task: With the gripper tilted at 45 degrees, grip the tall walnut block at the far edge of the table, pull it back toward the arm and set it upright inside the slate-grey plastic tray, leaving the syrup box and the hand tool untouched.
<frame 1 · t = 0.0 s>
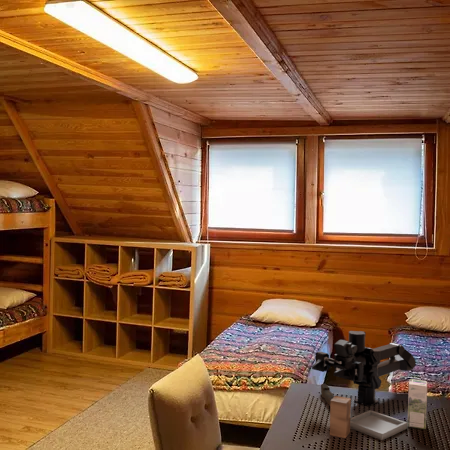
hand: (323, 370, 191), 17 cm above the table, tool horizontal, fingers open, 9 cm apart
walnut block: (339, 433, 181), on the table
syrup box: (416, 425, 188), on the table
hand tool: (327, 403, 208), on the table
tray: (375, 427, 186), on the table
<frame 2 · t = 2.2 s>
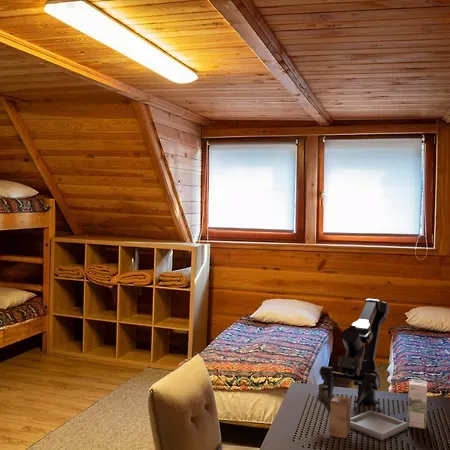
hand: (342, 401, 182), 10 cm above the table, tool tilted 45°, fingers open, 9 cm apart
nothing on the table moved.
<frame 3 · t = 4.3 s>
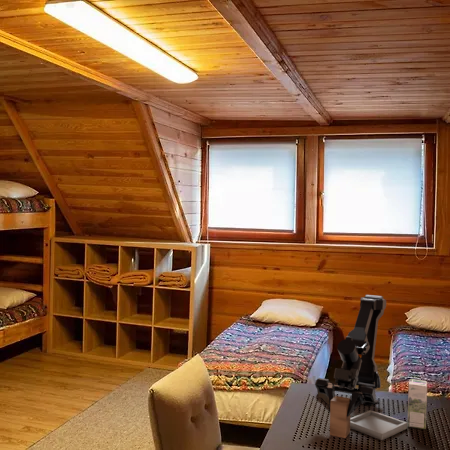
hand: (339, 414, 179), 7 cm above the table, tool tilted 45°, fingers closed on walnut block, 5 cm apart
walnut block: (339, 433, 181), on the table, touching gripper
everything else where it was.
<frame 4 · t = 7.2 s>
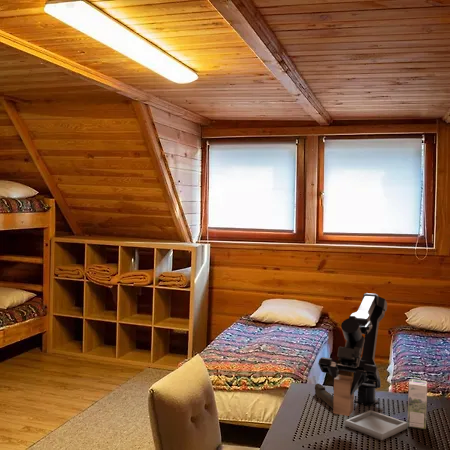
hand: (342, 392, 179), 13 cm above the table, tool tilted 45°, fingers closed on walnut block, 5 cm apart
walnut block: (343, 412, 181), point 7 cm above the table, touching gripper
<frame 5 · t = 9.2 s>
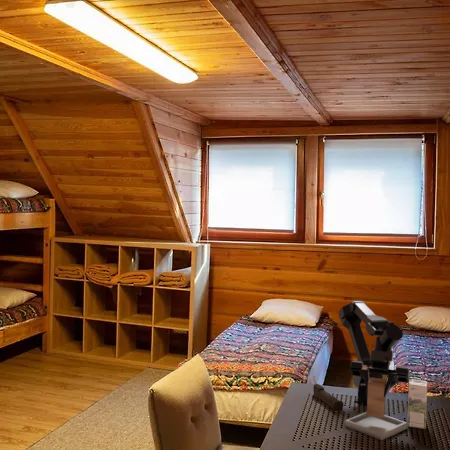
hand: (376, 395, 184), 11 cm above the table, tool tilted 45°, fingers closed on walnut block, 5 cm apart
walnut block: (376, 413, 186), point 4 cm above the table, touching gripper
when the fingers open (9 cm above the table, at t = 10.5 s): walnut block drops 1 cm, resting on tray.
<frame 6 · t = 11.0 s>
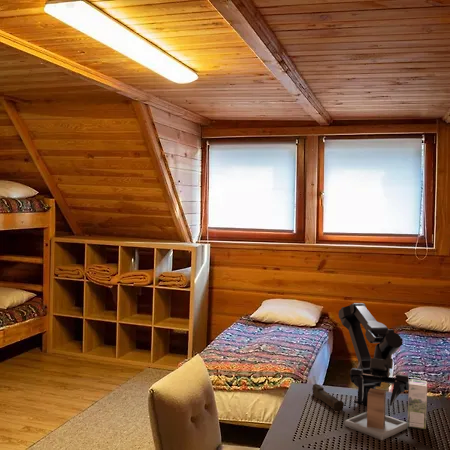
hand: (375, 402, 184), 9 cm above the table, tool tilted 45°, fingers open, 9 cm apart
walnut block: (376, 425, 186), point 1 cm above the table, touching tray
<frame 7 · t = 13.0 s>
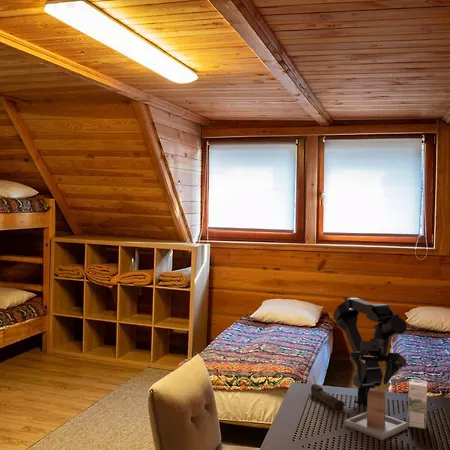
hand: (372, 383, 190), 13 cm above the table, tool tilted 35°, fingers open, 9 cm apart
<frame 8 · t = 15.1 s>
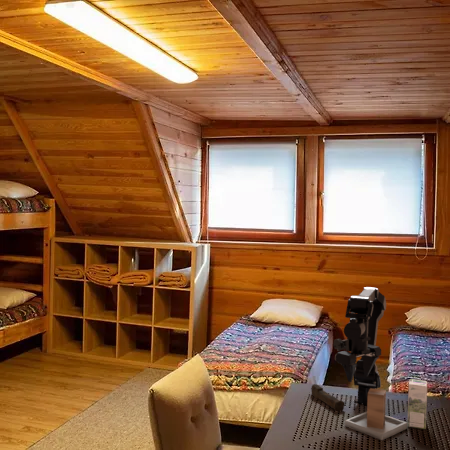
hand: (358, 378, 194), 13 cm above the table, tool pointing down, fingers open, 9 cm apart
at the end: walnut block inside the target area on the tray (0.0 cm from its centre), point 0.8 cm above the tray's base; walnut block tilted 0°; the gripper is holding nothing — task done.
